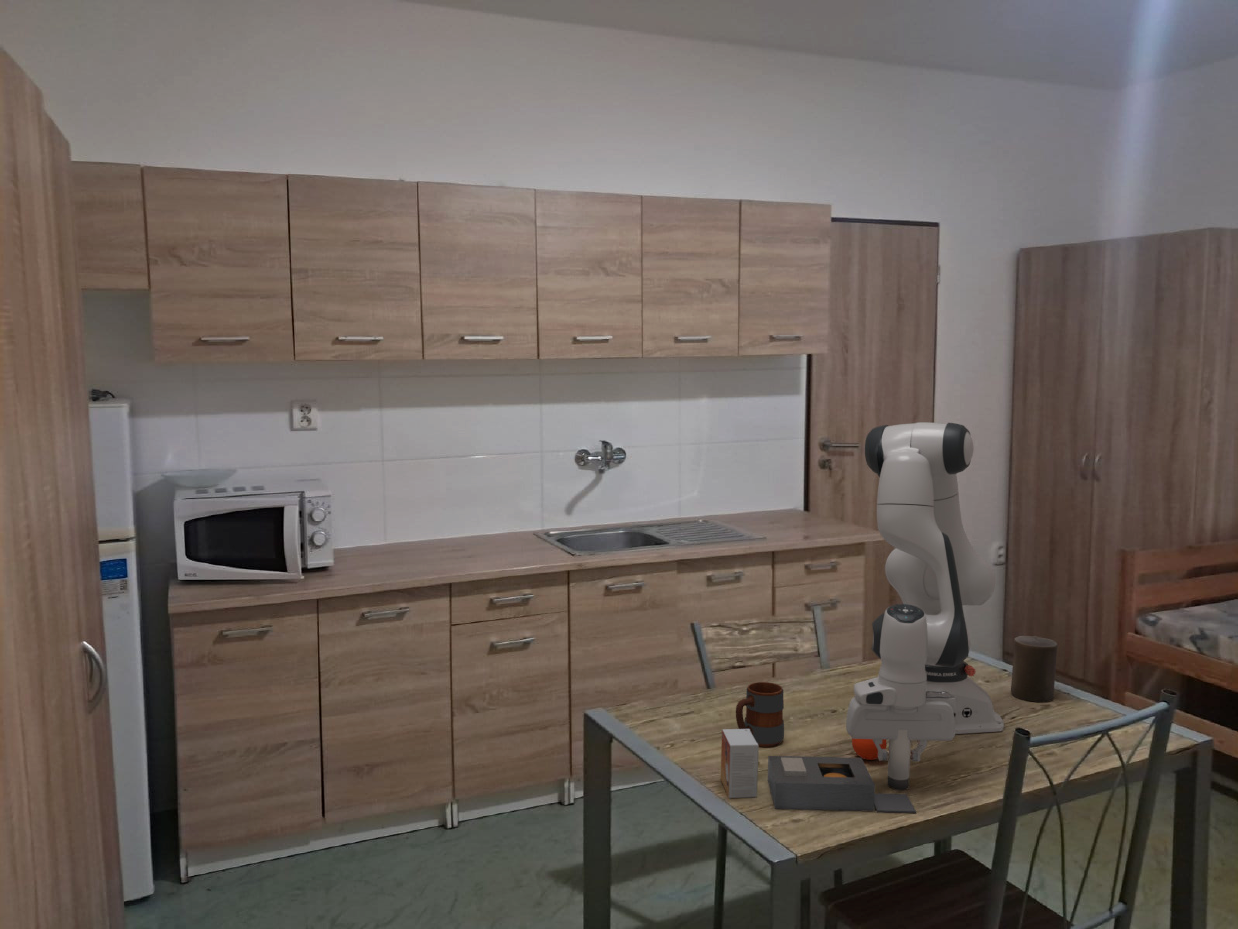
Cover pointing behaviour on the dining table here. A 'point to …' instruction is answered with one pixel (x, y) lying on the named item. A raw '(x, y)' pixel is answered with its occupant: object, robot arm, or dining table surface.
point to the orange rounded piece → (834, 775)
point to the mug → (763, 713)
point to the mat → (893, 803)
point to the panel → (820, 783)
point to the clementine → (867, 748)
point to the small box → (739, 763)
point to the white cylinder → (899, 762)
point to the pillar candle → (1034, 668)
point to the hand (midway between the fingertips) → (898, 760)
